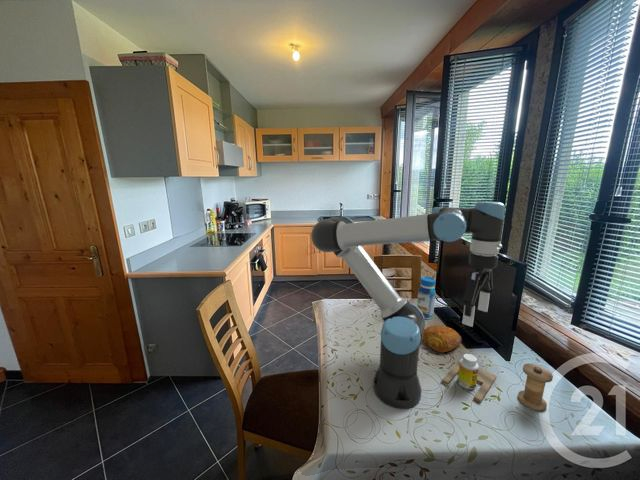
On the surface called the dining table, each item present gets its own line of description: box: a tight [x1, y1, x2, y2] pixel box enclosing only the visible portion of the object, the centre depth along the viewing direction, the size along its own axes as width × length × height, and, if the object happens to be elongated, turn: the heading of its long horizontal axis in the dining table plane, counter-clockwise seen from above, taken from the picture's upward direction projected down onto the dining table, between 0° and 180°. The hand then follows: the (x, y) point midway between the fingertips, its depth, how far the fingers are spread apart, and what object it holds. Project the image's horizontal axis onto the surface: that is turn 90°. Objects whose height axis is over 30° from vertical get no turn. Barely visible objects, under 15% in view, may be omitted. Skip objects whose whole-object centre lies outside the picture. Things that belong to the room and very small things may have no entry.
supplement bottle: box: [457, 353, 480, 390], centre depth 89 cm, size 6×6×10 cm
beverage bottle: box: [416, 276, 437, 320], centre depth 134 cm, size 8×8×20 cm
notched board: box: [441, 358, 497, 404], centre depth 91 cm, size 16×12×1 cm
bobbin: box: [517, 362, 554, 412], centre depth 81 cm, size 7×7×12 cm
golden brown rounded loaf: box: [422, 324, 462, 353], centre depth 113 cm, size 14×16×8 cm
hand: (475, 317), depth 85 cm, fingers open, 13 cm apart
